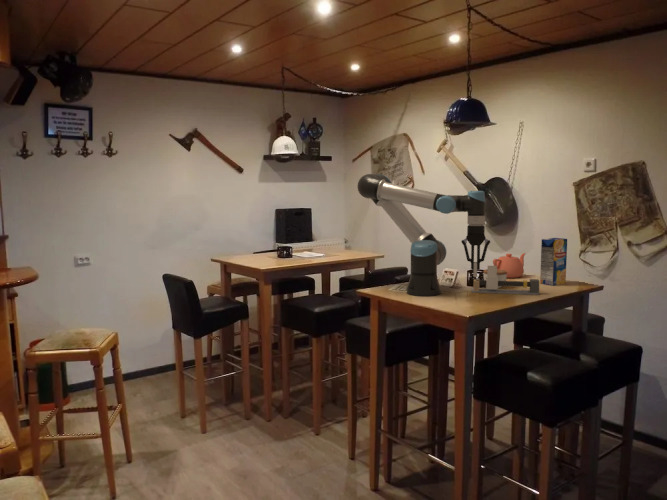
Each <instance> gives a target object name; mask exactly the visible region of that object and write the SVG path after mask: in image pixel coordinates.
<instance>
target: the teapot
mask: <svg viewBox="0 0 667 500" xmlns="http://www.w3.org/2000/svg"><path fill="white" fill-rule="evenodd" d="M525 256H526V252H524V253H522V254H521V255H520V256H519V257H518V256H513V254H512V253H505V255H504V256H500V257H498V258H494V259H493V260H492V264H493V266H497V269H500V270H506V271H507V277H506V279H511V278H512V279H513V278H514V279H515V278H521V277H522V276H523V274H524V273H525V271H524V266H525V264H524V262H525V260H524V258H525Z"/></svg>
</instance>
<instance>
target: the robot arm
mask: <svg viewBox="0 0 667 500" xmlns="http://www.w3.org/2000/svg"><path fill="white" fill-rule="evenodd" d="M357 191H358V193H359V195H360V196H361V197H363V198H365V199H369V200H370V199H371V201H372V202H373V203H374V204H375V206H377V207H381V208H382V209H383V211H385V212H386V214H387V215H388V216H389V218H390V219H391V220H392V221H393V222H394V223H395V225H396V226H397V227H398V228H399V230H400V231H401V232H402V234H404V235H405V237H406V238H407V240H409V242H410V243H411V245H410V251H409V252H410V278H409V280H408V283H407V286H406V293H407V294H408V295H410V296H411V295H412V296H416V295H417V296H418V297H419V296H420V297H431V296H439V295H440V294H441V293H442V292H441V286H440V283H439V279H438V276H437V275H438V274H437V273H438V271H437V270H438V265H440V264H442V263H443V262H444V261H445V259H446V256H447V248H446V246H445V244H444V243H443V242H442V241H440V240H438V239H437V238H436V237H435V236H434V235H433V234H432V233H431V232H427V231H426V230H425V229H424V228H423V227H422V225H421V224H420V223H419V222H418V221H417V219H416V218H415V217H414V216H413V215H412V214H411V213H410V211H409V209H408V208H407V207H406V206H405V205H404V204H406V205H408V206H409V205H410V206H415V207H419V208H423V209H427V210H430V211H431V210H432V211H437V212H440V213H441V214H446V215H448V214H451V213H461V212H462V213H466V212H467V229H466V230H467V232H466V236H465V238H463V239H462V240H461V244H462V245H463V248H464V252H465V257H466V261H467V262H470V269H471V270H473V278H478V270H480V268H481V266H480V265H481V264H480V263H482V262H484V261H485V258H486V254H487V250H488V247H489V245H490V244H491V240H489V239H487V238H486V236H485V228H486V227H485V222H486V221H485V220H486V219H485V218H486V217H485V216H486V212H485V211H486V195H485V194H486V193H485V191H483V190H469V191H467V194H466V195H463V194H462V195H460V194H459V195H452V194H448V195H446V194H442V193H438V192H432V191H428V190H424V189H423V190H422V189H418V188H414V187H410V186H405V185H404V186H403V185H400V184H396V183H392V182H391V180H390V178H388V177H387V176H386V175H383V174H380V173H378V174H377V173H375V174H374V173H366V174H364V175H363V176H361V177H360V178H359V179H358V182H357ZM467 243H469V244H470V246H471V247H470V248H471V250H470V251H471V252H470V254H469V249H468V245H467ZM483 243H484V247H483V252H482V255H481V245H482V244H483ZM475 246H476V261H475ZM470 256H471V257H470Z"/></svg>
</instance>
